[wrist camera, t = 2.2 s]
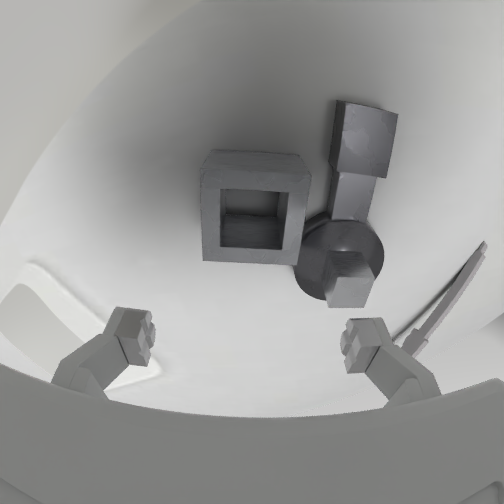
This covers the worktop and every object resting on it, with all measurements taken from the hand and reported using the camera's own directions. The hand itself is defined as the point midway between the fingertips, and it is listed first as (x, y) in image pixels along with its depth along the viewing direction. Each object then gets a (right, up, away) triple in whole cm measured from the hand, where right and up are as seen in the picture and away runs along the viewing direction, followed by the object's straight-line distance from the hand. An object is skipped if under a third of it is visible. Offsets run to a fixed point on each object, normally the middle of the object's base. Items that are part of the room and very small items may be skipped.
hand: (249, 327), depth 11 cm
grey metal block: (0, +8, +11) cm, 14 cm away
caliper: (+22, -3, +19) cm, 29 cm away
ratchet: (+8, +7, +12) cm, 16 cm away
